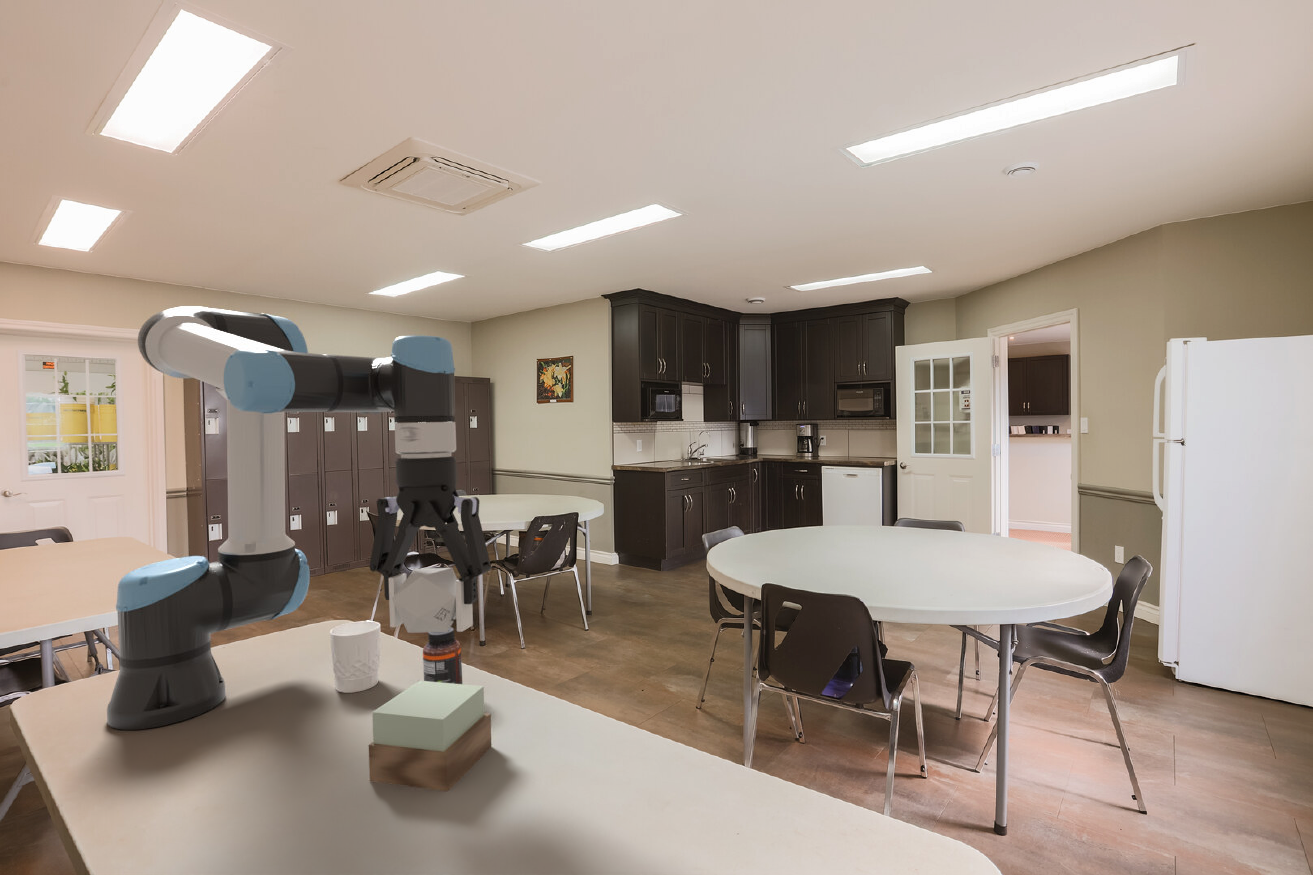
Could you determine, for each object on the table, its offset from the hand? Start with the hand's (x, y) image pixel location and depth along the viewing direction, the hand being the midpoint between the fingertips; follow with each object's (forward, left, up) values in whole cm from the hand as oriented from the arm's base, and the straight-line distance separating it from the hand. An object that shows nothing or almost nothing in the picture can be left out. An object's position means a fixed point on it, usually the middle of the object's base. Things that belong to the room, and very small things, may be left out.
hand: (431, 625), depth 85 cm
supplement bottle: (-10, +18, -18) cm, 28 cm away
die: (0, 0, 0) cm, 0 cm away
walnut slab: (0, 0, -19) cm, 19 cm away
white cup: (-28, +20, -18) cm, 39 cm away
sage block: (0, 0, -14) cm, 14 cm away
